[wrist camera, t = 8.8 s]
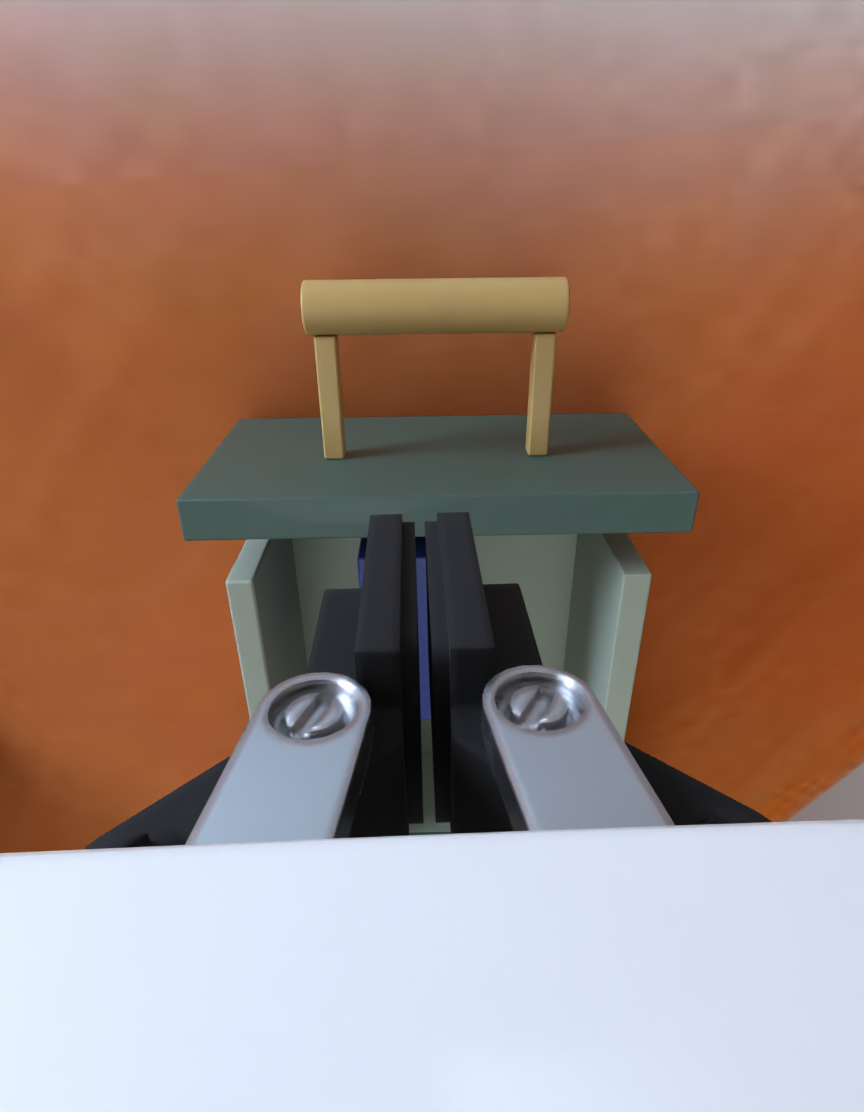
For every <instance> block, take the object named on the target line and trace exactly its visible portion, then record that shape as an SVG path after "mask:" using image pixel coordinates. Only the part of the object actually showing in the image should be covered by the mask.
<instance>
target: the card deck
mask: <svg viewBox="0 0 864 1112" xmlns="http://www.w3.org/2000/svg"><path fill="white" fill-rule="evenodd" d="M366 546H367V538H361V540H360V546H359V552H358V558H357V564H358V578H359V588H362V581H363V572H364V563H365V555H366ZM415 547H416V577H417V607H418V637H419V669H420V706H421V720H431V710H430V688H429V665H428V630H427V591H426V552H425V537H415Z"/></svg>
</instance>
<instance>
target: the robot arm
mask: <svg viewBox="0 0 864 1112" xmlns="http://www.w3.org/2000/svg"><path fill="white" fill-rule="evenodd" d="M425 552H426V591H427V630H428V665H429V688H430V710H431V732H432V754H433V776H434V797H435V819H436V823H447V822H450V830H451V834H433V835H409V824H421V823H424V820H423V782H422V744H421V706H420V669H419V637H418V607H417V577H416V547H415V522H403V521H402V514H380V515H370V520H369V529H368V538H367V546H366V555H365V563H364V572H363V581H362V588H353V589H326V590H325V591H324V594H323V598H322V602H321V607H320V612H319V617H318V621H317V626H316V631H315V636H314V640H313V645H312V650H311V655H310V659H309V664H308V669H307V673H306V674H304V675H300V676H295V677H293V678H290V679H288V680H286V681H284V682H281V683H279V684H278V685H276V686H275V687H274V688H272V689H271V690H270V691H268V692H267V693H266V694H265V695H264V697H263V698H262V699H261V701H260V702H259V703H258V705H257V707H256V709H255V711H254V713H253V714H252V716H251V718H250V720H249V722H248V724H247V726H246V728H245V730H244V732H243V734H242V736H241V738H240V740H239V741H238V743H237V745H236V747H235V749H234V751H233V753H232V755H231V756H230V757H228V758H226V759H225V760H223V761H221V762H220V763H218V764H217V765H215V766H213V767H212V768H210V769H209V770H207V771H205V772H204V773H202V774H200V775H199V776H197V777H196V778H194V779H192V780H191V781H189V782H188V783H186V784H184V785H183V786H181V787H179V788H178V789H176V790H175V791H173V792H171V793H170V794H168V795H167V796H165V797H163V798H162V799H160V800H158V801H157V802H155V803H154V804H152V805H150V806H149V807H147V808H146V809H144V810H142V811H141V812H139V813H137V814H136V815H134V816H133V817H131V818H129V819H128V820H126V821H125V822H123V823H121V824H120V825H118V826H117V827H115V828H113V829H112V830H110V831H108V832H107V833H105V834H104V835H102V836H100V837H99V838H97V839H96V840H95V841H93V842H92V843H91V844H90V845H88V846H87V847H86V848H84V849H83V850H63V851H41V852H19V853H0V1112H864V819H856V820H855V819H854V820H825V821H794V822H772V821H770V820H769V819H767V818H766V817H764V816H763V815H761V814H760V813H758V812H756V811H755V810H753V809H751V808H749V807H747V806H745V805H743V804H741V803H739V802H737V801H736V800H734V799H732V798H730V797H728V796H726V795H724V794H722V793H720V792H719V791H717V790H715V789H713V788H711V787H709V786H707V785H705V784H703V783H701V782H700V781H698V780H696V779H694V778H692V777H690V776H688V775H686V774H684V773H682V772H681V771H679V770H677V769H675V768H673V767H671V766H669V765H667V764H665V763H663V762H662V761H660V760H658V759H656V758H654V757H652V756H650V755H648V754H646V753H645V752H643V751H641V750H639V749H637V748H635V747H633V746H631V745H629V744H627V743H626V742H624V741H623V739H622V738H621V736H620V734H619V733H618V731H617V730H616V728H615V726H614V725H613V723H612V721H611V720H610V718H609V717H608V715H607V713H606V712H605V710H604V708H603V707H602V705H601V704H600V702H599V700H598V699H597V697H596V695H595V694H594V692H593V691H592V690H591V689H590V688H589V686H588V685H587V684H586V683H585V682H584V681H582V680H581V679H579V678H578V677H576V676H575V675H573V674H572V673H569V672H566V671H564V670H561V669H558V668H555V667H549V666H543V664H542V661H541V657H540V654H539V650H538V647H537V644H536V640H535V637H534V633H533V630H532V626H531V623H530V619H529V616H528V613H527V609H526V606H525V602H524V599H523V595H522V592H521V588H520V586H519V584H518V583H508V584H483V582H482V577H481V572H480V567H479V562H478V557H477V552H476V547H475V541H474V536H473V531H472V526H471V521H470V516H469V512H447V513H437V521H425Z"/></svg>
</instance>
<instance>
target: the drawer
mask: <svg viewBox="0 0 864 1112" xmlns="http://www.w3.org/2000/svg"><path fill="white" fill-rule="evenodd" d="M569 306H570V290H569V283H568V280H567V278H566V277H505V278H425V279H345V280H304V281H303V282H302V285H301V313H302V321H303V326H304V330H305V332H306V334H307V335H316V336H315V337H314V347H315V358H316V369H317V380H318V391H319V402H320V413H321V418H269V419H239V420H238V422H237V423H236V424H235V426H234V427H233V428H232V429H231V431H230V432H229V433H228V435H227V436H226V437H225V438H224V440H223V441H222V442H221V444H220V445H219V446H218V447H217V449H216V450H215V451H214V453H213V454H212V455H211V456H210V458H209V459H208V460H207V461H206V463H205V464H204V465H203V467H202V468H201V469H200V470H199V472H198V473H197V474H196V476H195V477H194V478H193V479H192V481H191V482H190V483H189V485H188V486H187V487H186V488H185V490H184V491H183V492H182V494H181V495H180V496H179V497H178V499H177V500H176V503H177V508H178V513H179V517H180V522H181V527H182V532H183V537H184V540H186V541H192V540H246V542H245V544H244V546H243V548H242V550H241V552H240V554H239V556H238V558H237V560H236V562H235V564H234V566H233V568H232V570H231V572H230V574H229V576H228V578H227V580H226V588H227V593H228V599H229V605H230V610H231V616H232V621H233V627H234V632H235V638H236V644H237V649H238V655H239V660H240V666H241V671H242V677H243V683H244V688H245V694H246V699H247V705H248V710H249V716H250V718H251V716H252V714H253V713H254V711H255V709H256V707H257V705H258V703H259V702H260V701H261V699H262V698H263V697H264V695H265V694H266V693H267V692H268V691H270V690H271V689H272V688H274V687H275V686H276V685H278V684H279V683H281V682H284V681H286V680H288V679H290V678H293V677H295V676H300V675H304V674H306V673H307V669H308V664H309V659H310V655H311V650H312V645H313V640H314V636H315V631H316V626H317V621H318V617H319V612H320V607H321V602H322V598H323V594H324V591H325V590H326V589H353V588H359V578H358V564H357V558H358V552H359V546H360V540H361V538H368V529H369V520H370V515H380V514H402V521H403V522H415V537H425V521H437V513H447V512H469V516H470V521H471V526H472V531H473V536H474V541H475V547H476V552H477V557H478V562H479V567H480V572H481V577H482V582H483V584H508V583H518V584H519V586H520V588H521V592H522V595H523V599H524V602H525V606H526V609H527V613H528V616H529V619H530V623H531V626H532V630H533V633H534V637H535V640H536V644H537V647H538V650H539V654H540V657H541V661H542V664H543V666H549V667H555V668H558V669H561V670H564V671H566V672H569V673H572V674H573V675H575V676H576V677H578V678H579V679H581V680H582V681H584V682H585V683H586V684H587V685H588V686H589V688H590V689H591V690H592V691H593V692H594V694H595V695H596V697H597V699H598V700H599V702H600V704H601V705H602V707H603V708H604V710H605V712H606V713H607V715H608V717H609V718H610V720H611V721H612V723H613V725H614V726H615V728H616V730H617V731H618V733H619V734H620V736H621V738H622V739H623V741H624V738H625V732H626V726H627V720H628V714H629V708H630V702H631V696H632V690H633V684H634V678H635V672H636V666H637V660H638V654H639V648H640V642H641V636H642V630H643V624H644V618H645V612H646V606H647V600H648V594H649V588H650V582H651V576H652V574H651V572H650V571H649V569H648V567H647V566H646V564H645V562H644V561H643V559H642V557H641V556H640V554H639V553H638V551H637V549H636V548H635V546H634V544H633V543H632V541H631V539H630V538H629V536H628V534H627V533H670V532H692V529H693V523H694V518H695V513H696V508H697V503H698V497H699V491H698V490H697V489H696V488H695V487H694V486H693V485H692V483H691V482H690V481H689V480H688V479H687V478H686V477H685V476H684V475H683V474H682V473H681V472H680V471H679V470H678V468H677V467H676V466H675V465H674V464H673V463H672V462H671V461H670V460H669V459H668V458H667V457H666V456H665V455H664V453H663V452H662V451H661V450H660V449H659V448H658V447H657V446H656V445H655V444H654V443H653V442H652V441H651V439H650V438H649V437H648V436H647V435H646V434H645V433H644V432H643V431H642V430H641V429H640V428H639V427H638V426H637V424H636V423H635V422H634V421H633V420H632V419H631V418H630V417H629V416H628V415H627V414H626V413H609V414H551V404H552V391H553V377H554V364H555V351H556V337H557V336H556V334H555V333H554V332H563V331H564V330H565V328H566V325H567V321H568V316H569ZM531 332H533V333H532V345H531V362H530V379H529V396H528V413H527V415H473V416H405V417H344V414H343V400H342V387H341V373H340V359H339V346H338V335H381V334H456V333H531ZM421 744H422V782H423V820H424V823H421V824H409V832H451V830H450V822H447V823H436V819H435V797H434V776H433V754H432V732H431V720H421Z"/></svg>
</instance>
